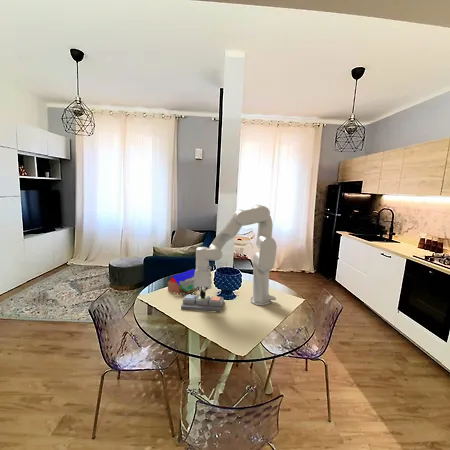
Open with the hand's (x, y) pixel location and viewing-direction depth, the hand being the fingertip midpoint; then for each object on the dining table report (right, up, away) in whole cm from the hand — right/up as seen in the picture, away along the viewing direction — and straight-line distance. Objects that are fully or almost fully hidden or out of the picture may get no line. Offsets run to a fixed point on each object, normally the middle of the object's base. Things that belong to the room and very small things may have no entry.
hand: (202, 297), depth 152 cm
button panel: (0, -5, +1) cm, 5 cm away
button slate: (-8, -2, +2) cm, 8 cm away
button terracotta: (+8, -3, -1) cm, 9 cm away
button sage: (0, -2, 0) cm, 3 cm away
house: (-16, -2, +27) cm, 32 cm away
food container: (-10, -3, +17) cm, 20 cm away
